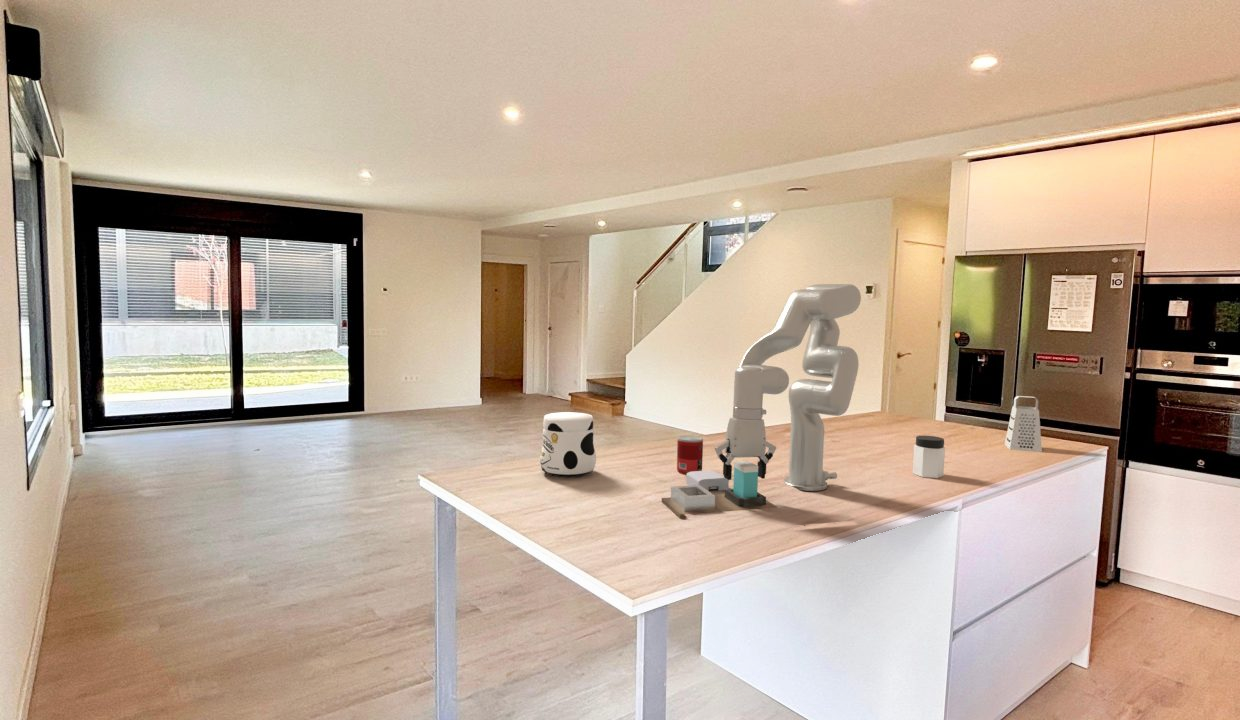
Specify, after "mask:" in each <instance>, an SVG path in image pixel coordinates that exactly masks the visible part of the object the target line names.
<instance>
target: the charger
mask: <svg viewBox="0 0 1240 720" xmlns="http://www.w3.org/2000/svg"><path fill="white" fill-rule="evenodd" d="M685 478H686V479H685V483H686V486H692V485H700V486H702V487H703V488H705V489H706V490H707V491H709V490H715V489H716V490H718V491H725V490H728V489H729V485H730V484H729V483H730V480H728V479H726V478H724V475H723V474H720V473H718V472H716V471H715V470H712V469H711V470H710V469H709V470H702V471H692V472H688V473H687V474H685ZM709 492H710V491H709Z"/></svg>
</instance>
